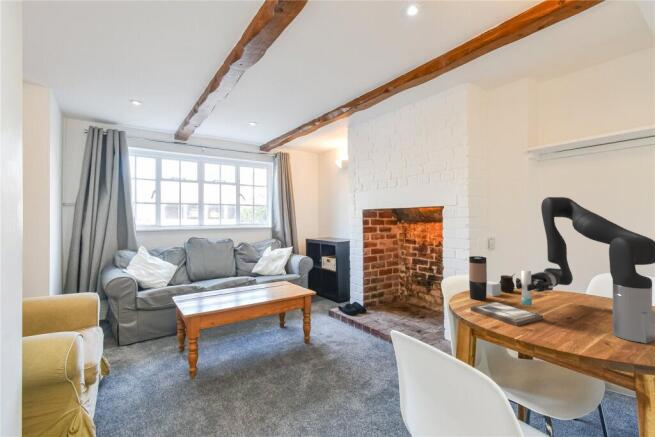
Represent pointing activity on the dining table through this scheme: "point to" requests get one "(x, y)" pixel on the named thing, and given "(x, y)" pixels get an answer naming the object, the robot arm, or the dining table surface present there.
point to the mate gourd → (507, 283)
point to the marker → (526, 294)
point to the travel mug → (478, 277)
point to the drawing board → (507, 313)
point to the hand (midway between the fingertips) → (523, 287)
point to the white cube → (493, 288)
